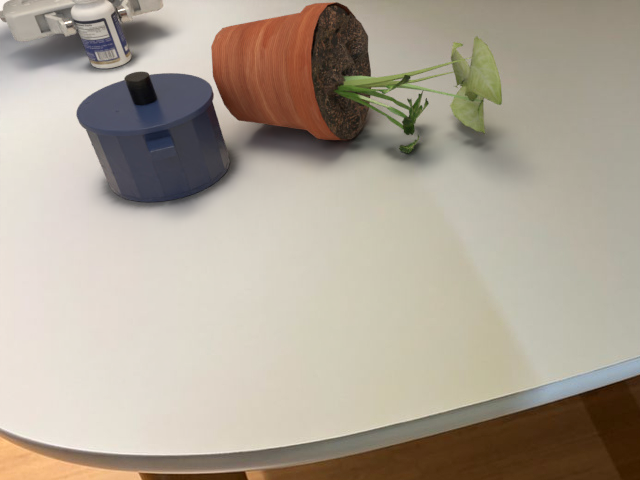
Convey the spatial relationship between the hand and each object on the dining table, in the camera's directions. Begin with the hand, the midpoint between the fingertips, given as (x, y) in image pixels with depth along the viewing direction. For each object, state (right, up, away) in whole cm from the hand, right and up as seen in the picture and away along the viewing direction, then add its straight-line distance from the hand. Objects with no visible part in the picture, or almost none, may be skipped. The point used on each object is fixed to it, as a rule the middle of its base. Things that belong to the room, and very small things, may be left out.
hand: (97, 22), depth 106 cm
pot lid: (+17, -19, -24) cm, 35 cm away
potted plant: (+41, -20, -15) cm, 48 cm away
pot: (+17, -25, -19) cm, 36 cm away
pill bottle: (0, -4, +4) cm, 6 cm away
